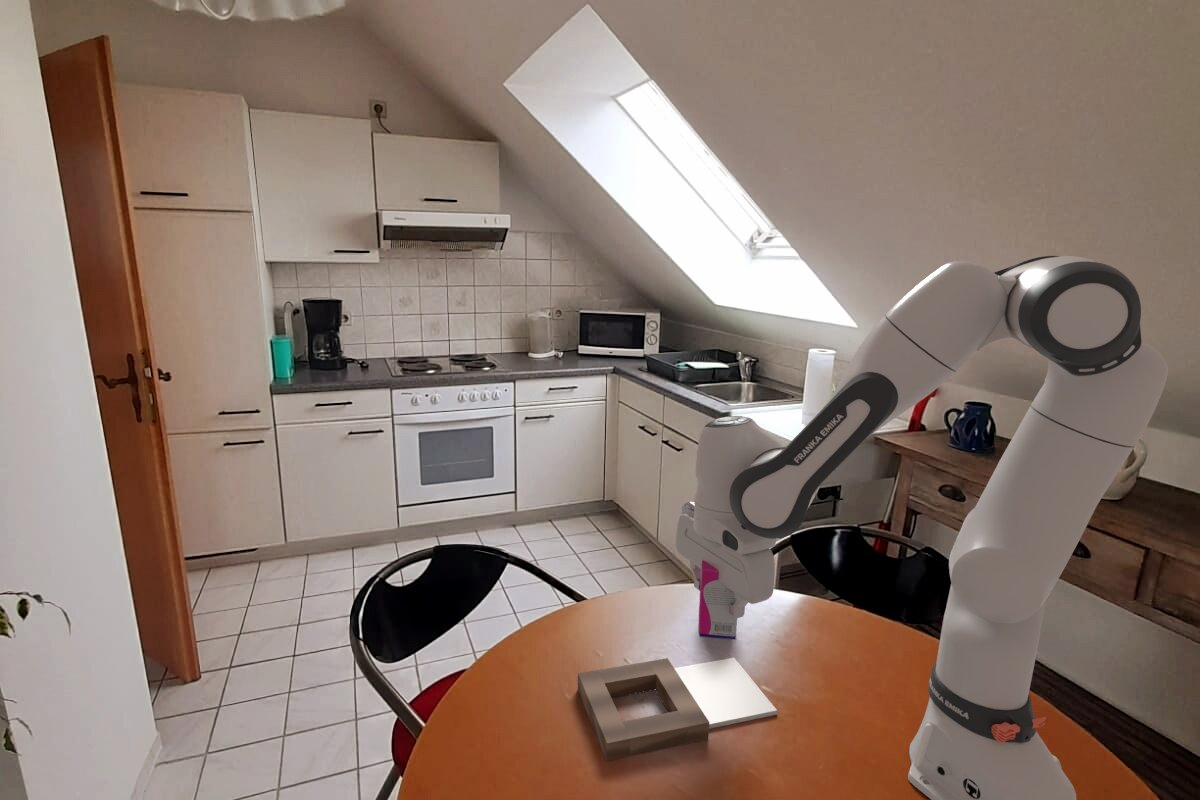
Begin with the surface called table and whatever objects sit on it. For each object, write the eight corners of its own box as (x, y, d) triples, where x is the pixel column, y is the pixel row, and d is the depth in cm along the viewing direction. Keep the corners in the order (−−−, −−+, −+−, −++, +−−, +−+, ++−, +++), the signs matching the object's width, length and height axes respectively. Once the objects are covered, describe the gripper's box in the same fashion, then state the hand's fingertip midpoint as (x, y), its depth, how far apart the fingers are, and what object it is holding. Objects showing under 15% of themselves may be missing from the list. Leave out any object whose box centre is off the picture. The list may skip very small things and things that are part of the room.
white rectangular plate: (776, 714, 101) (777, 710, 101) (708, 728, 97) (708, 724, 97) (733, 661, 114) (734, 657, 114) (672, 672, 110) (672, 668, 110)
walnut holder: (708, 739, 95) (709, 722, 94) (606, 761, 90) (607, 743, 90) (666, 673, 110) (667, 658, 109) (577, 689, 105) (577, 673, 105)
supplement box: (733, 619, 104) (738, 555, 101) (736, 640, 98) (740, 573, 96) (697, 616, 105) (701, 552, 102) (698, 637, 99) (702, 569, 96)
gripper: (667, 500, 105) (665, 577, 108) (750, 549, 87) (744, 639, 90) (698, 494, 108) (695, 569, 111) (784, 540, 90) (777, 628, 93)
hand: (718, 601), depth 100 cm, fingers closed on supplement box, 8 cm apart
